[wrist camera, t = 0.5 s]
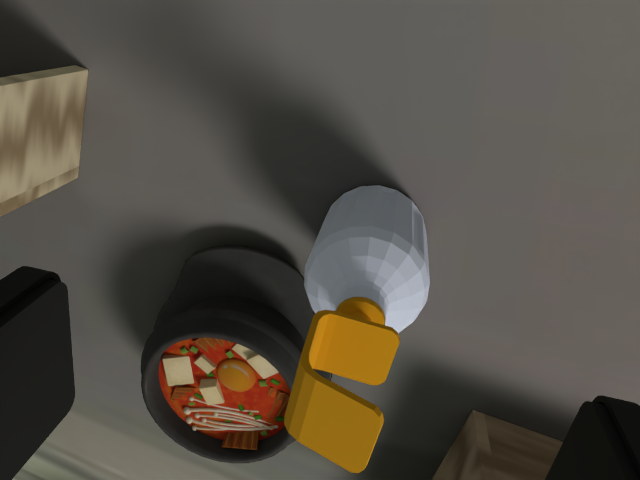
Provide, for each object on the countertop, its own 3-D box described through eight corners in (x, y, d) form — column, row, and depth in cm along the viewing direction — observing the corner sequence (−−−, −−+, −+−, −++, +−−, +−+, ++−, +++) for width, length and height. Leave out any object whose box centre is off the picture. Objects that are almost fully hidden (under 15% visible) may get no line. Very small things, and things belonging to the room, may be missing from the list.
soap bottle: (408, 288, 48) (406, 529, 26) (313, 261, 48) (231, 475, 26) (440, 200, 44) (470, 394, 22) (336, 171, 44) (263, 334, 22)
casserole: (321, 452, 58) (307, 519, 50) (163, 419, 60) (127, 479, 52) (350, 255, 47) (339, 301, 40) (158, 222, 49) (112, 261, 42)
